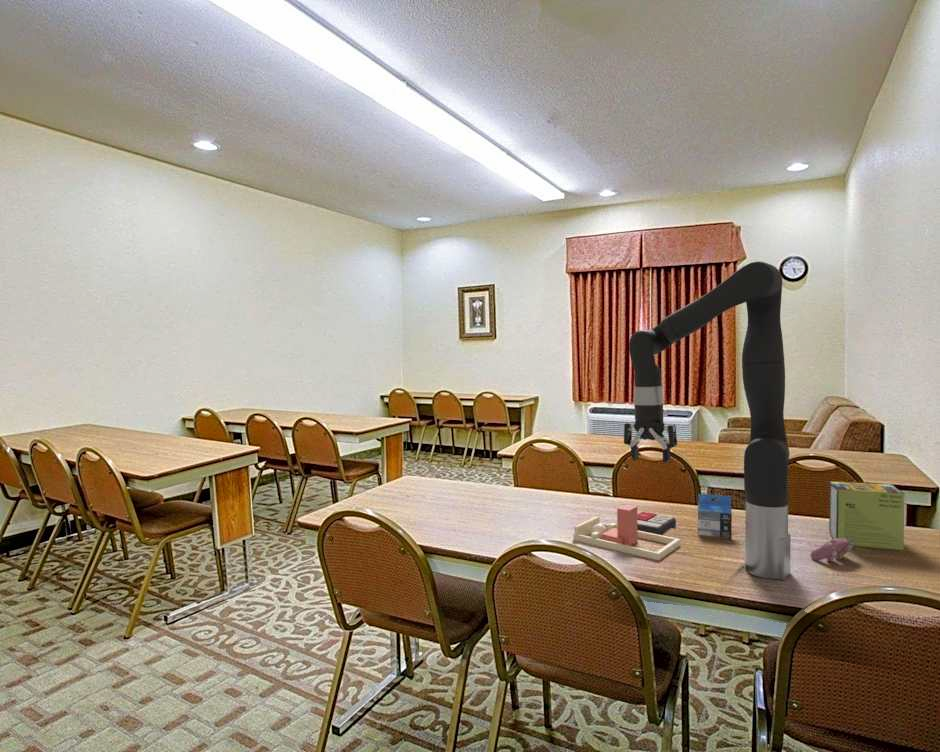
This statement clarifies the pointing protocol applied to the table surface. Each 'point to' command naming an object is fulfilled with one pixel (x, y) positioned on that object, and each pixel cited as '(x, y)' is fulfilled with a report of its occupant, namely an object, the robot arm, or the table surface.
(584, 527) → the pitch
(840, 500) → the protein box
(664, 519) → the calculator
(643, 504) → the table surface
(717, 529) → the label tape cartridge
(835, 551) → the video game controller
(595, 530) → the ball
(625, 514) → the block
